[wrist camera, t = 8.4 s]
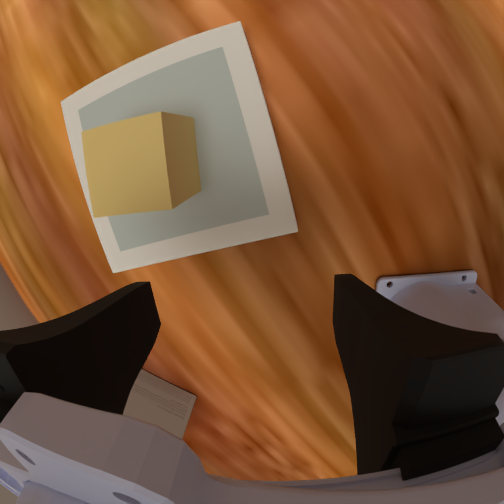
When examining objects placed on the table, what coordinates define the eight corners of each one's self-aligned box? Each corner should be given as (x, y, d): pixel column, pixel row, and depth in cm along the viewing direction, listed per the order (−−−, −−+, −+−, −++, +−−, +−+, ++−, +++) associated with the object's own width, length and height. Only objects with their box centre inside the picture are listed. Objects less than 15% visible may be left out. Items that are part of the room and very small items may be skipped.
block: (193, 117, 17) (160, 111, 12) (201, 190, 19) (172, 209, 14) (128, 130, 18) (81, 131, 13) (136, 197, 19) (93, 218, 14)
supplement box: (133, 362, 27) (76, 458, 16) (199, 395, 28) (164, 501, 16) (121, 398, 30) (76, 480, 18) (177, 426, 31) (146, 514, 19)
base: (244, 31, 16) (240, 20, 14) (297, 223, 21) (298, 232, 19) (76, 102, 19) (60, 101, 17) (124, 263, 23) (112, 273, 21)
